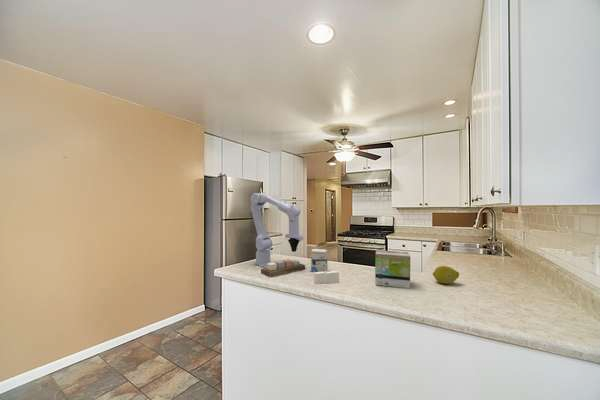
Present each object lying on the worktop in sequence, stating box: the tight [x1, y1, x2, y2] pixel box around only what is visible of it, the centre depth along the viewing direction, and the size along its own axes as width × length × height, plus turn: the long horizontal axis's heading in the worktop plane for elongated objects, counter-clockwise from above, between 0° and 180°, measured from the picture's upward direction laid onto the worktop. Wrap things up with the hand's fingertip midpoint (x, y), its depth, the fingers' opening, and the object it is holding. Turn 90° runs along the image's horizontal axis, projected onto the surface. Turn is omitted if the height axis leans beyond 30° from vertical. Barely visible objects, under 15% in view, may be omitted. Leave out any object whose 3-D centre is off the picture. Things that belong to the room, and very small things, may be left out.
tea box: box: [374, 249, 411, 289], centre depth 117 cm, size 15×10×15 cm, turn 73°
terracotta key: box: [281, 258, 293, 267], centre depth 141 cm, size 4×4×3 cm
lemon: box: [432, 265, 460, 285], centre depth 117 cm, size 11×8×8 cm
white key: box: [265, 261, 277, 271], centre depth 135 cm, size 4×4×3 cm
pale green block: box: [292, 259, 301, 266], centre depth 144 cm, size 4×4×3 cm
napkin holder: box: [313, 270, 340, 285], centre depth 121 cm, size 15×11×6 cm
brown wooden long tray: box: [260, 263, 306, 278], centre depth 140 cm, size 10×23×2 cm, turn 129°
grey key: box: [274, 260, 285, 269], centre depth 138 cm, size 4×4×3 cm
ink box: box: [310, 248, 328, 273], centre depth 139 cm, size 8×5×12 cm, turn 73°
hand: (294, 251), depth 144 cm, fingers closed
